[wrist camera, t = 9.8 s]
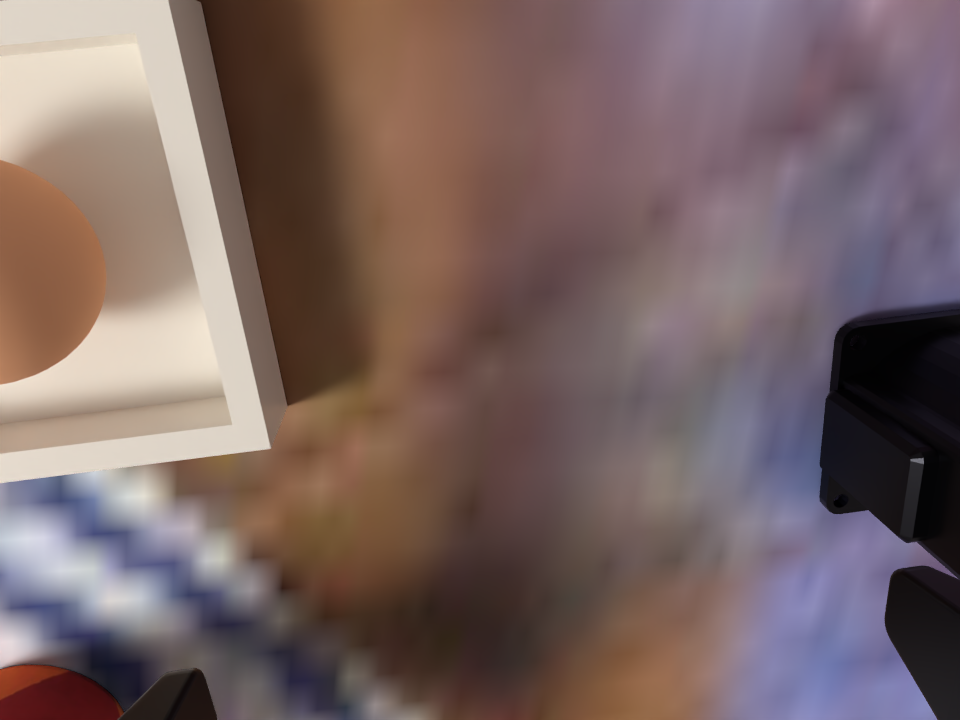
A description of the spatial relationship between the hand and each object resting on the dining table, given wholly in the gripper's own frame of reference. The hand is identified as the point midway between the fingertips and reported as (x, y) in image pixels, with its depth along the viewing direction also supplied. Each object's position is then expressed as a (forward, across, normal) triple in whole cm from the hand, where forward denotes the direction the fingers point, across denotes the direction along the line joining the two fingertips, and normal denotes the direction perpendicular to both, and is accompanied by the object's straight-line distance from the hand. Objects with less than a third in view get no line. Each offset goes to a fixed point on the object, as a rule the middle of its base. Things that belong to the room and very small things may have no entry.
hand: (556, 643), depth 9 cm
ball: (+11, +11, -4) cm, 16 cm away
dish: (+12, +11, -4) cm, 17 cm away
